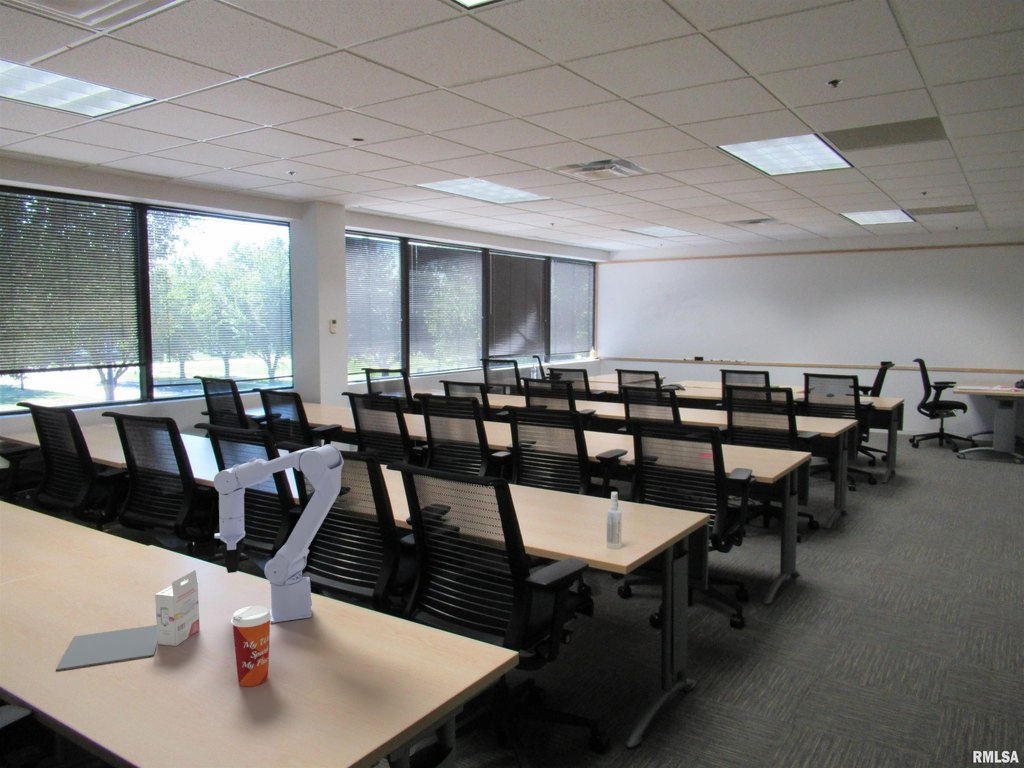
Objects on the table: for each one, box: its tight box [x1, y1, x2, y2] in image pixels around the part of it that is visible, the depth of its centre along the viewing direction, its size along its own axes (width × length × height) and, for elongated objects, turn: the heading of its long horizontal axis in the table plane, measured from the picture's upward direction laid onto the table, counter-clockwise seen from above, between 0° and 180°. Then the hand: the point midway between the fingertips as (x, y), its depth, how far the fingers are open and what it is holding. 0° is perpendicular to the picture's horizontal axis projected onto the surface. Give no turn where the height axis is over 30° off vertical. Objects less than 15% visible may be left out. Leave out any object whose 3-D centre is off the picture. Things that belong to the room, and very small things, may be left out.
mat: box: [55, 624, 158, 672], centre depth 151 cm, size 18×16×1 cm
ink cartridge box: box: [154, 569, 201, 647], centre depth 155 cm, size 9×5×15 cm, turn 169°
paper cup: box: [230, 605, 272, 688], centre depth 136 cm, size 8×8×14 cm
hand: (232, 569), depth 170 cm, fingers open, 4 cm apart
